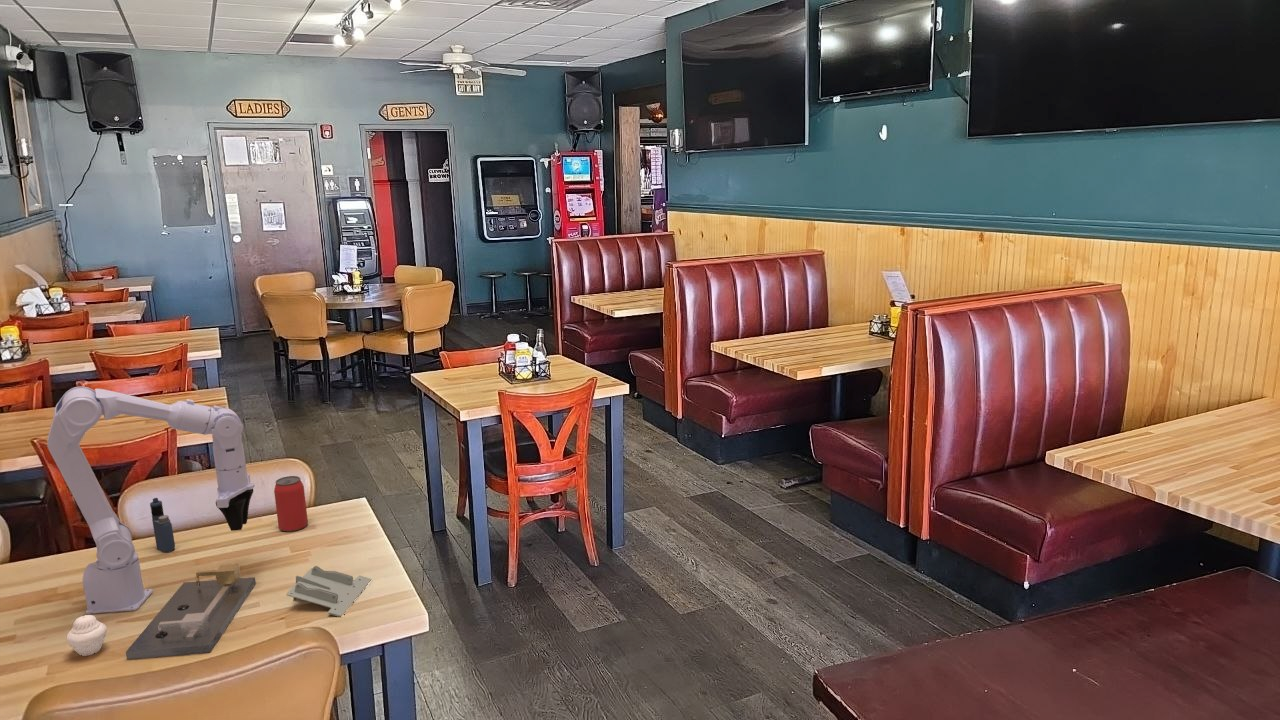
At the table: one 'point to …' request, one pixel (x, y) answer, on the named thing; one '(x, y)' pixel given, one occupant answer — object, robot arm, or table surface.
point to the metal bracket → (328, 589)
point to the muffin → (87, 635)
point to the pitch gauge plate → (196, 606)
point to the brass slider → (222, 574)
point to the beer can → (290, 503)
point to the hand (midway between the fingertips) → (239, 526)
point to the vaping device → (162, 527)
